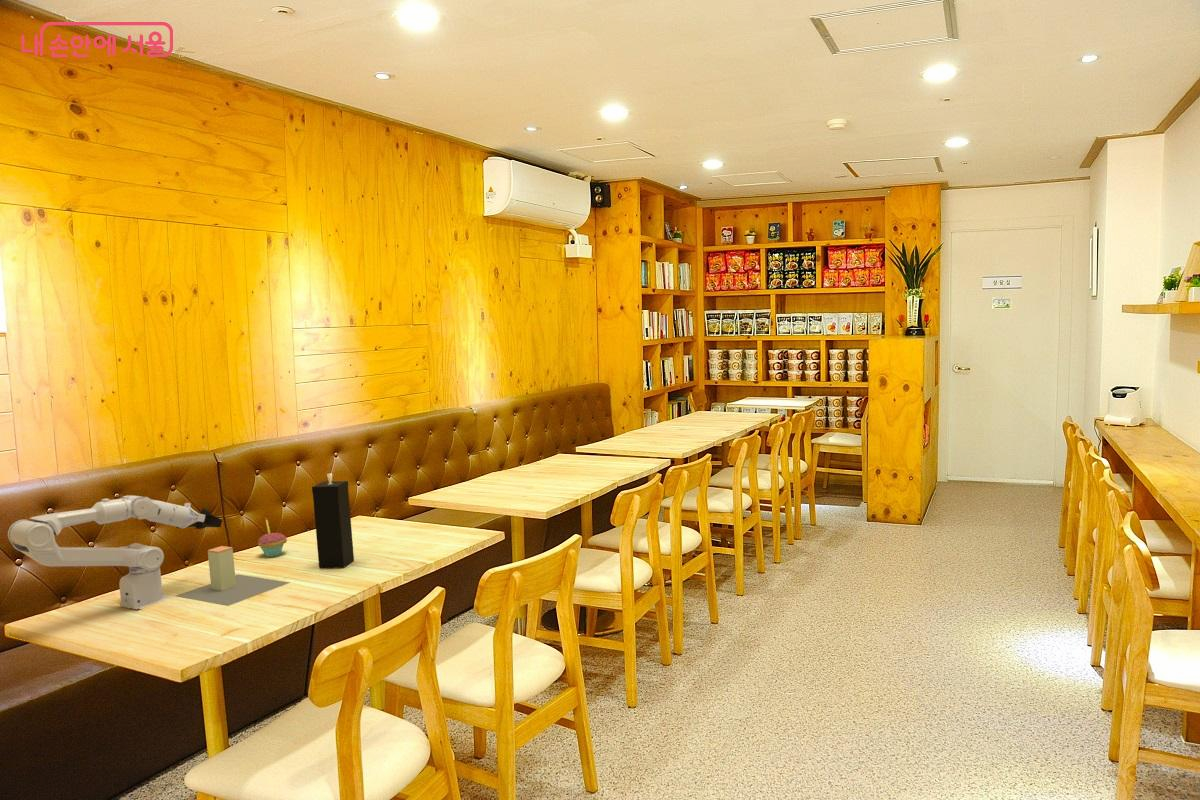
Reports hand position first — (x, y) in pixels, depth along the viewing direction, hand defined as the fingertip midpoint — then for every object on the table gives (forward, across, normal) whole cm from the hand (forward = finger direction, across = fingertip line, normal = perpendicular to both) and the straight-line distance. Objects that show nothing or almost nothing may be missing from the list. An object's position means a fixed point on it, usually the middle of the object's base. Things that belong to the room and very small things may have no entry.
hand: (212, 523), depth 237 cm
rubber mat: (+3, -12, +18) cm, 22 cm away
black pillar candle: (+30, -20, +7) cm, 37 cm away
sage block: (+3, -8, +17) cm, 19 cm away
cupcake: (+29, +9, +5) cm, 31 cm away
